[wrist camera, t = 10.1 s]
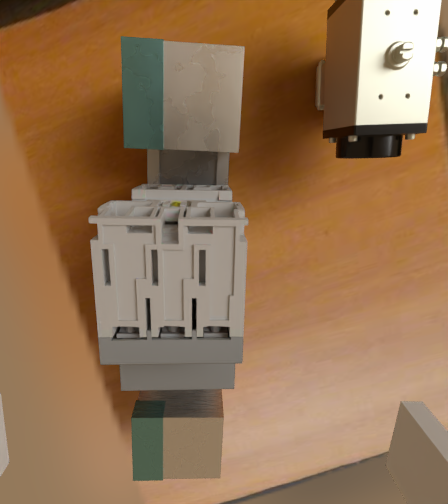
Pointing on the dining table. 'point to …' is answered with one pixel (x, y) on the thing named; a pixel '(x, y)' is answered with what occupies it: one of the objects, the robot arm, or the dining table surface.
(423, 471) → the robot arm
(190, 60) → the rail with modules
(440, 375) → the dining table surface
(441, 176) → the dining table surface
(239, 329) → the circuit breaker
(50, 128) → the dining table surface
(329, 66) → the pneumatic valve
